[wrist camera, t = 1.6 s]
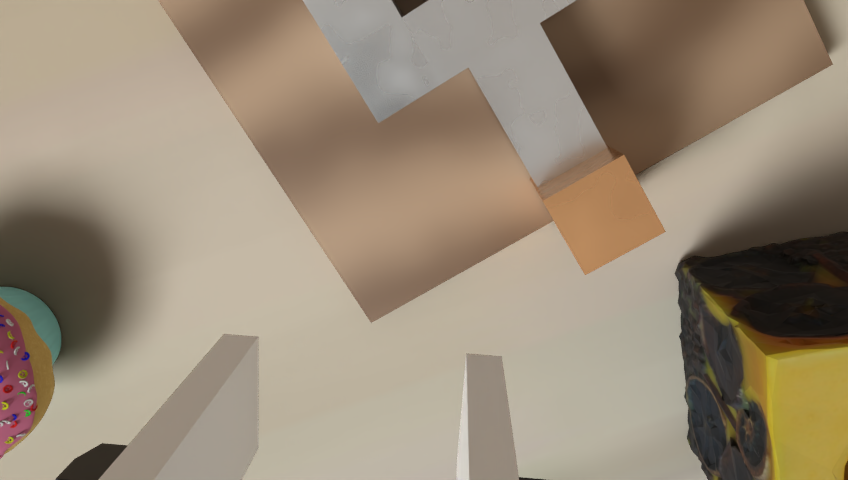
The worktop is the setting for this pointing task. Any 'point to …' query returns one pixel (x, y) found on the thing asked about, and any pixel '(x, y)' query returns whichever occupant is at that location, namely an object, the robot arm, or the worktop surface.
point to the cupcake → (25, 363)
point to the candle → (768, 360)
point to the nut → (500, 103)
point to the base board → (477, 121)
